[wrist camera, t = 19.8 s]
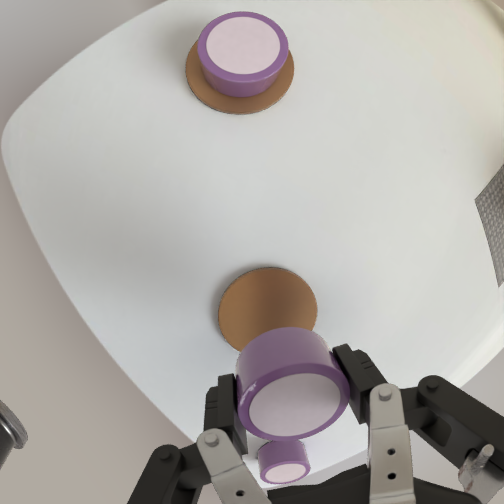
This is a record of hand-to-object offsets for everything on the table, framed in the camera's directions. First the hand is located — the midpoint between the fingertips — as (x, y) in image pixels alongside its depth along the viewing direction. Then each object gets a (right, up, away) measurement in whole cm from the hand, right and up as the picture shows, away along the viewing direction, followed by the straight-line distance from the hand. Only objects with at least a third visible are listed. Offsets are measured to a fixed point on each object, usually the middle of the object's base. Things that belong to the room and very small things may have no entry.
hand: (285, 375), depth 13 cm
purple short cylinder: (-2, +18, +2) cm, 18 cm away
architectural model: (+27, +11, +7) cm, 31 cm away
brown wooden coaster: (-1, +2, +7) cm, 7 cm away
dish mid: (0, 0, +1) cm, 1 cm away
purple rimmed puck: (+1, -15, +11) cm, 19 cm away
